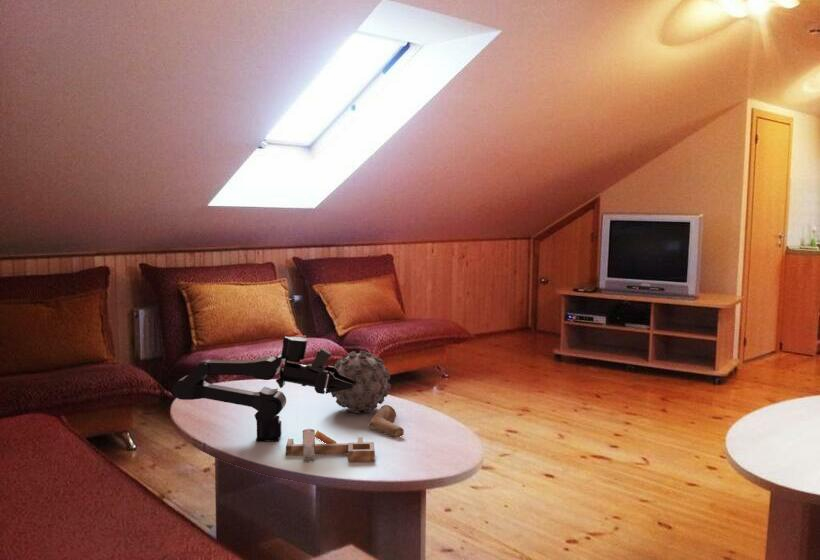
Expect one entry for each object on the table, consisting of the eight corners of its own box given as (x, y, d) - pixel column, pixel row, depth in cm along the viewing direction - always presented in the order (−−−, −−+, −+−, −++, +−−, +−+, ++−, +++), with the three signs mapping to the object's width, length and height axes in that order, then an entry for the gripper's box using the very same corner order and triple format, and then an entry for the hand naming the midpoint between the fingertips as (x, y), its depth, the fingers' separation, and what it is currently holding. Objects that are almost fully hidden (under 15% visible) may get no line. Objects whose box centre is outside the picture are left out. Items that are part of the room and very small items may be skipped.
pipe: (393, 424, 207) (418, 413, 213) (359, 412, 220) (384, 401, 226) (396, 445, 208) (421, 433, 215) (361, 431, 221) (386, 420, 227)
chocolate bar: (331, 449, 200) (331, 442, 200) (313, 438, 210) (313, 430, 210) (339, 448, 202) (339, 440, 201) (321, 436, 212) (321, 429, 212)
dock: (283, 463, 188) (283, 452, 188) (288, 447, 201) (287, 437, 200) (374, 461, 190) (374, 450, 189) (373, 445, 203) (373, 435, 202)
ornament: (378, 400, 250) (378, 344, 249) (397, 416, 232) (398, 356, 230) (323, 406, 244) (323, 348, 242) (338, 422, 225) (338, 360, 223)
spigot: (302, 462, 189) (302, 432, 188) (303, 457, 192) (303, 429, 191) (314, 461, 189) (314, 432, 189) (315, 457, 192) (315, 428, 192)
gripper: (301, 349, 197) (356, 359, 197) (311, 345, 216) (362, 354, 216) (293, 388, 197) (349, 399, 197) (304, 381, 216) (355, 391, 215)
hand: (354, 384), depth 206 cm, fingers open, 9 cm apart
